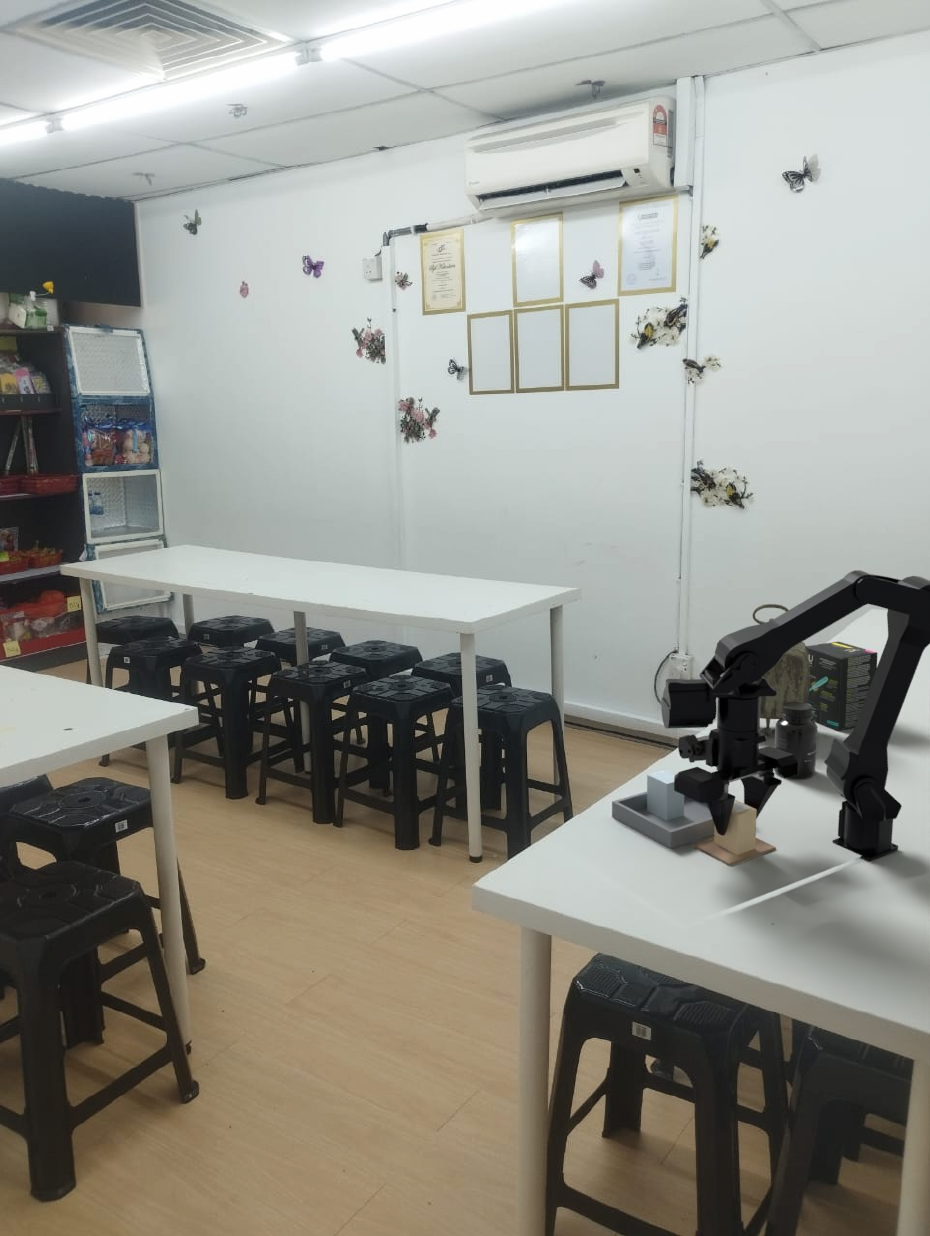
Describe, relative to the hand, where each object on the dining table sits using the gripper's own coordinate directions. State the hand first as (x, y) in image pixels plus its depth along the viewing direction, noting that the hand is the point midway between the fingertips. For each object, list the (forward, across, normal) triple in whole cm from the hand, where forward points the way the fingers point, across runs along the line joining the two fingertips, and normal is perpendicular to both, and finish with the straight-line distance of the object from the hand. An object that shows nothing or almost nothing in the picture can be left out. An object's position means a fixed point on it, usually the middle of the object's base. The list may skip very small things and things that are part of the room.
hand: (735, 829), depth 138 cm
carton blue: (+3, 0, -14) cm, 15 cm away
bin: (+3, 0, -12) cm, 12 cm away
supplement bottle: (+4, -30, -16) cm, 34 cm away
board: (+3, 0, 0) cm, 3 cm away
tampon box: (+4, -58, -30) cm, 65 cm away
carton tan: (+2, 0, 0) cm, 2 cm away
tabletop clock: (+4, -42, -32) cm, 53 cm away
